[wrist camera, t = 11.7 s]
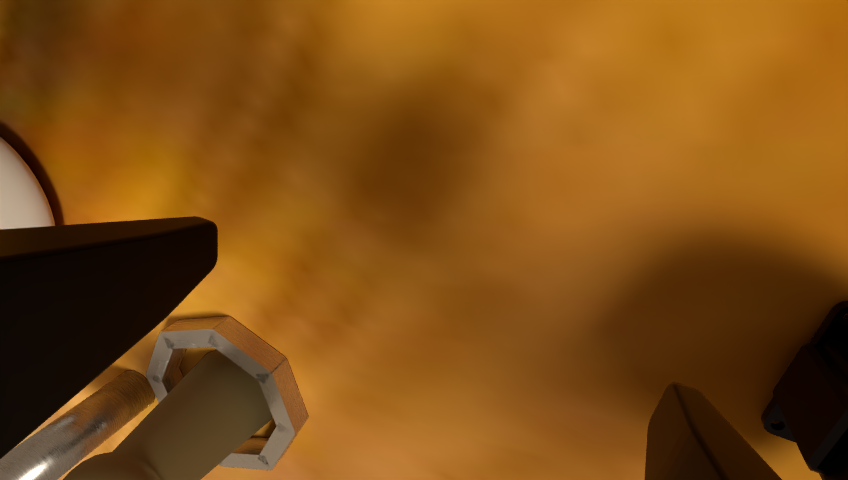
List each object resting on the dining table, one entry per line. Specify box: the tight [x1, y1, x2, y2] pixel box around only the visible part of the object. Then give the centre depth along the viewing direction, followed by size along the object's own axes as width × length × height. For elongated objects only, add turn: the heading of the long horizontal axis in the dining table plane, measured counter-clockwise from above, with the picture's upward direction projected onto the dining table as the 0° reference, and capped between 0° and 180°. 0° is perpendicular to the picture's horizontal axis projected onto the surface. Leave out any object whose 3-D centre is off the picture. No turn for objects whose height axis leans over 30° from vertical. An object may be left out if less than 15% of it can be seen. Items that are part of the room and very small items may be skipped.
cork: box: [63, 350, 272, 480], centre depth 27 cm, size 6×6×11 cm
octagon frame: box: [0, 316, 308, 480], centre depth 29 cm, size 16×10×9 cm, turn 104°
